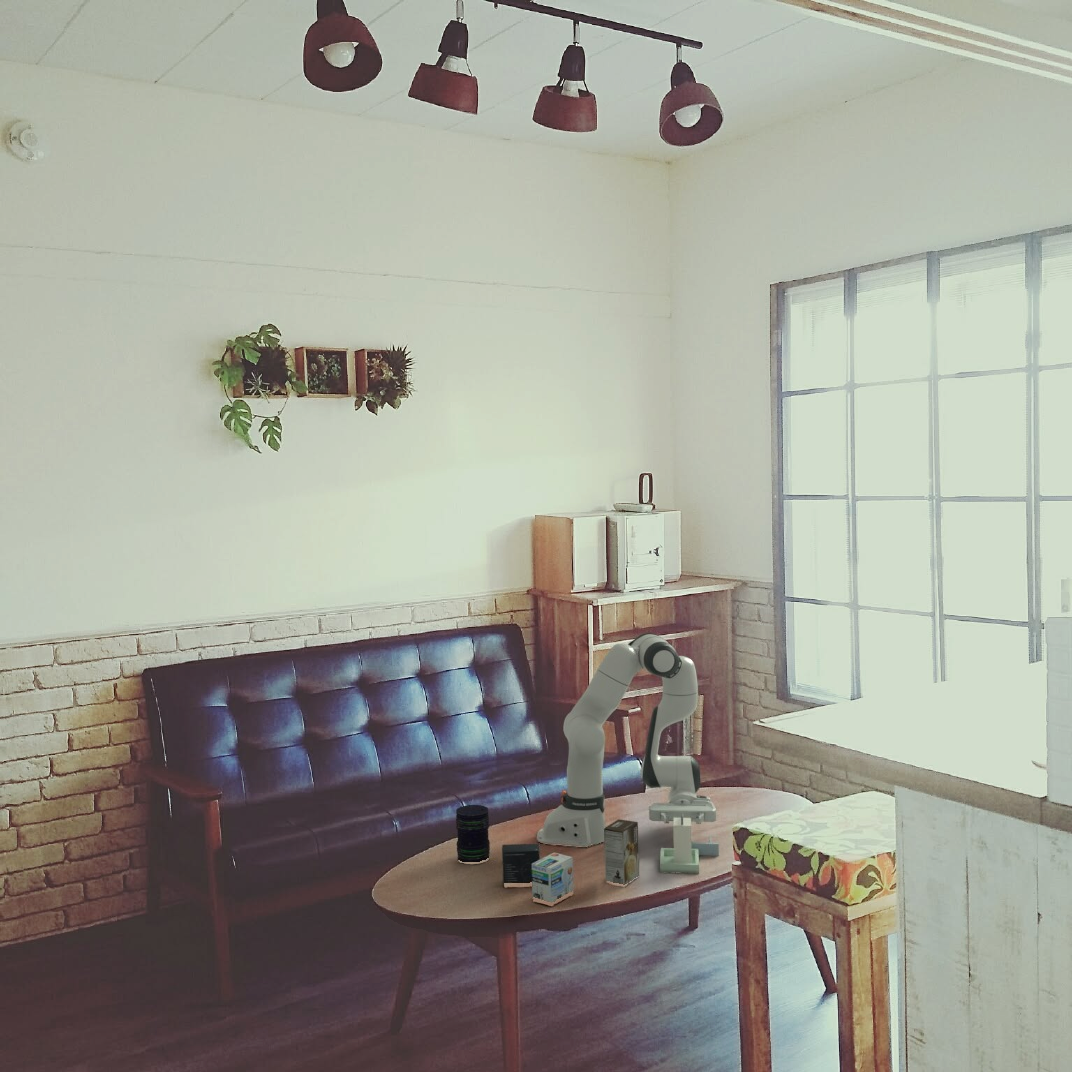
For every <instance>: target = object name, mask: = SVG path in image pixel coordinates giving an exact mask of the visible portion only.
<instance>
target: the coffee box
mask: <svg viewBox="0 0 1072 1072" xmlns="http://www.w3.org/2000/svg"><path fill="white" fill-rule="evenodd" d="M603 843H604V871H605V873H604V874H605V877H604V879H605V882H606V881H610V882H613V883H619V884H623V885H625V884H627V883H629V882H630V881H632V880H633V879H634V878H636V877H638V876H639V877H640V860H639V859H640V857H639V854H640V853H639V850H640V849H639V822H638V821H632V820H628V819H627V820H626V819H621V818H619V819H616V820H615V821H613V822H612V823H610V824H609V825H606V828H604V842H603ZM639 877H638V878H639Z"/></svg>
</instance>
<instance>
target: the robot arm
mask: <svg viewBox="0 0 1072 1072" xmlns="http://www.w3.org/2000/svg"><path fill="white" fill-rule="evenodd" d="M695 665H696V664H695V662H694V661H693V660H692V659H691V658H689V657H687V656H683V655H679V654H678V652H677V650H676V649H675V647H674V646H672V645H671V644H670V643H669V642H668V641H667V640H666V639H665V638H664V637H661V636H659V635H657V634H656V633H652V632H645V633H641V634H639V635H638V636H637V637H635V638H634V639H633V640H631V641H630V642H629V643H620V642H619V643H616V644H614V645H613V646H612V647H611V648H610V649H609V650H608V651H607V654H606V655H605V656H604V657H603V659H602V660H601V662H600V663H599V666H598V668H597V669H596V671H595V673H594V674H593V677H592V679H591V680H590V682H589V684H588V686H587V688H586V690H585V691H584V692H583V694H582V695H581V696H580V698H579V699H578V700H577V702H576V703H575V705H574V706H573V707H572V709H571V711H570V712H569V713H568V714H567V715H566V716H565V718H564V721H563V727H562V728H563V729H562V731H563V733H564V736H565V738H566V739H567V742H568V759H567V766H566V782H567V784H566V785H567V786H566V787H567V789H566V790H562V791H561V793H560V803H561V804H560V805H559V806H558V807H556V808H555V809H554V810H552V811H551V812H549V814H548V815H547V816H546V817H545V820H544V823H543V827H542V828H541V829H540V830H538V832H537V834H536V841H537V840H538V841H540V842H542V843H547V844H562V845H571V846H582V847H586V846H589V847H591V846H590V845H591V844H595V845H600V844H602V843H601V842H603V841H604V828H606V827H607V825H606V819H605V808H606V803H605V802H606V801H605V800H606V799H605V798H606V797H605V792H604V791H603V790H604V789H603V788H604V785H603V783H604V781H603V766H604V757H605V743H606V735H605V731H604V728H603V726H604V723H605V722H606V721H607V720H608V718H610V716H611V715H612V713H614V711H616V709H618V707H619V706H620V703H621V702H622V700H623V698H624V696H625V694H626V692H627V690H628V688H629V687H630V685H631V682H632V681H633V678H634V677H635V676H636V675H637V673H639V672H640V671H641V670H645V671H647V672H648V673H650V674H651V675H653V676H656V677H660V678H661V680H662V697H661V699H660V702H659V704H658V705H657V706H655V707H653V709H652V713H651V716H650V722H649V726H648V732H647V738H646V745H645V753H644V757H643V759H642V763H641V768H640V777H641V780H642V782H643V783H644V784H645V785H646V786H647V787H648V788H650V789H654V788H655V789H656V788H657V789H658V788H670V789H669V793H668V801H667V802H655V803H652V804H651V805H649V806H648V813H649V814H648V817H649V818H648V819H649V820H650V821H652V822H663V823H664V824H670V822H674V818H681V813H683V818H691V823H692V822H695V825H701V824H702V823H706V822H707V823H714V822H716V821H717V808H716V806H715V804H714V803H713V802H712V800H711V797H710V796H705V795H700V794H697V792H698V791H699V790H700V788H701V771H700V770H701V769H700V764H699V762H698V761H697V760H696V759H695V758H694V757H693V756H692V755H677V756H676V755H665V756H664V755H659V754H658V753H659V746H660V739H661V736H662V735H661V734H662V732H663V731H664V730H665V729H666V728H667V727H669V726H672V725H673V724H676V723H679V722H681V721H684V720H687V718H689V717H690V716H692V715H693V714H694V712H695V711H696V709H697V707H698V702H699V701H698V700H699V686H698V675H697V671H696V666H695ZM599 843H600V844H599ZM603 843H604V842H603Z"/></svg>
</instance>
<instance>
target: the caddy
mask: <svg viewBox="0 0 1072 1072" xmlns="http://www.w3.org/2000/svg"><path fill="white" fill-rule="evenodd" d="M691 842H692V822H691V818H683V813H681V818H674V821H673V848H674V863H691V864H692V854H691Z"/></svg>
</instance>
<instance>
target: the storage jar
mask: <svg viewBox="0 0 1072 1072" xmlns="http://www.w3.org/2000/svg"><path fill="white" fill-rule="evenodd" d="M455 814H456V815H455V823H456V824H455V827H456V830H457V831H456V832H457V841H456V853H457V861H458V860H460V861H462V862H480V861H482V860H486V859H487V858H489V856H490V854H491V853H490V851H491V841H490V839H489V828H490V815H489V808H488V807H487V806H485V805H481V804H469V805H462V806H459V807H457V808H456V810H455Z"/></svg>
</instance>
